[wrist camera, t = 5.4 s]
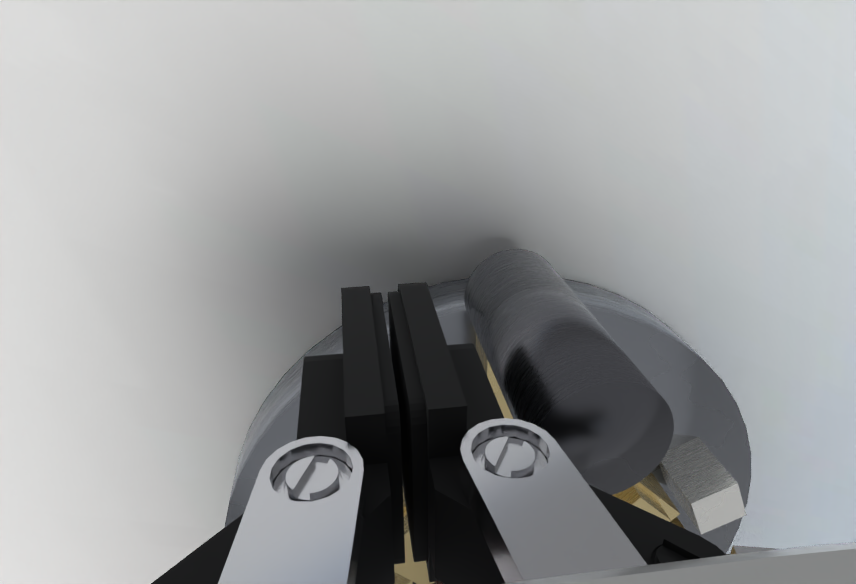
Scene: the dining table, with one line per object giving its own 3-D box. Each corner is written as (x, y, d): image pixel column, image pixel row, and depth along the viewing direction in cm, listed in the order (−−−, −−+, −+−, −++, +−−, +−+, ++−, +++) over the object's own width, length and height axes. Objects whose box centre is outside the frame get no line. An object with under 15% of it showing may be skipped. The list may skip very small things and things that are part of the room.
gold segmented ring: (632, 628, 21) (725, 821, 16) (356, 672, 20) (363, 895, 15) (706, 233, 15) (901, 350, 10) (302, 266, 14) (283, 418, 9)
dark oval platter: (733, 567, 24) (858, 740, 19) (349, 702, 25) (352, 916, 19) (686, 191, 17) (872, 287, 11) (130, 394, 17) (23, 592, 11)
